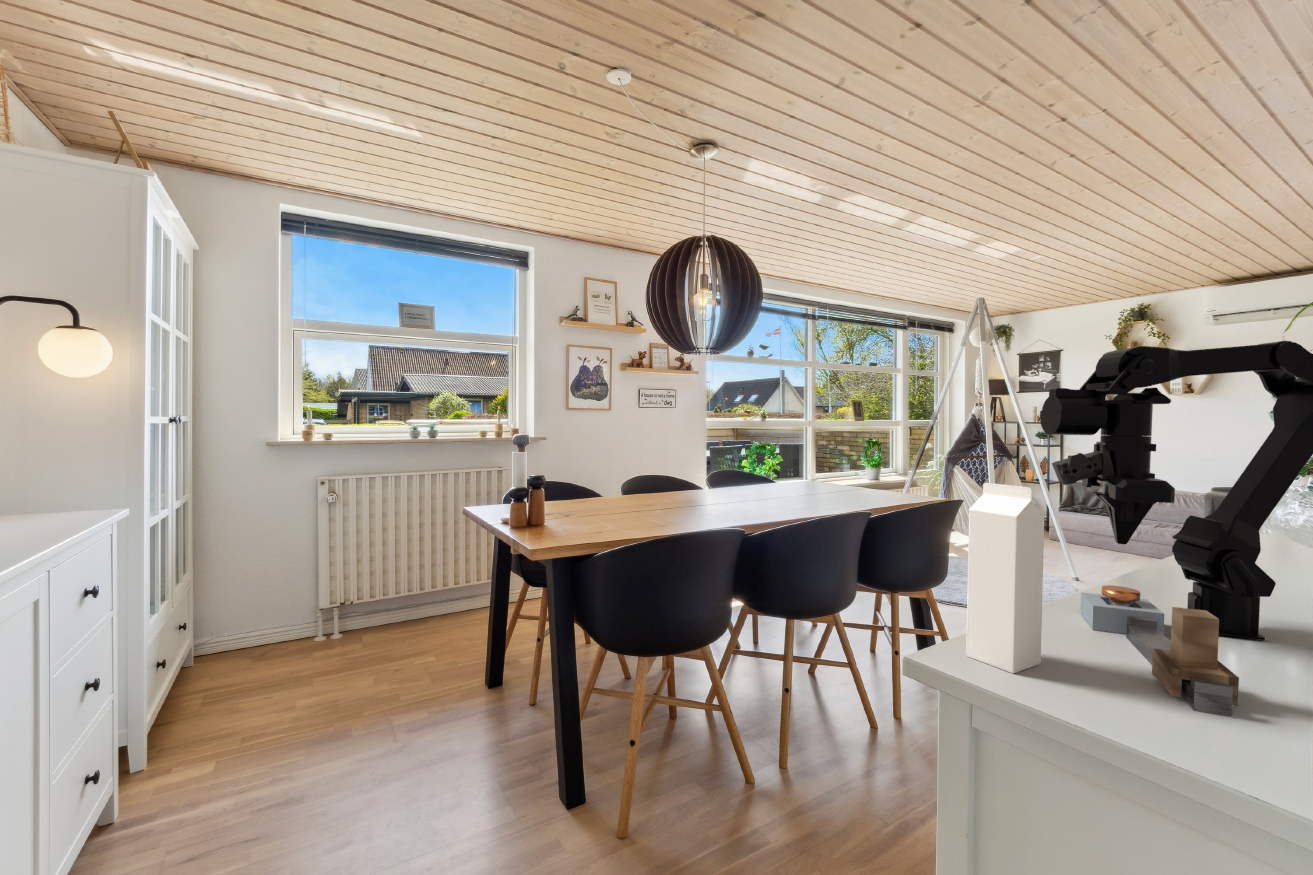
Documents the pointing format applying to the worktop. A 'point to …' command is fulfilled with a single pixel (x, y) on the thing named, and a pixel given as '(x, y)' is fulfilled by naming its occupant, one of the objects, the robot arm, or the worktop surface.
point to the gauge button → (1120, 595)
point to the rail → (1193, 691)
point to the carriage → (1192, 653)
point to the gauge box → (1116, 613)
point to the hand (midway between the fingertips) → (1121, 543)
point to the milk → (1005, 578)
